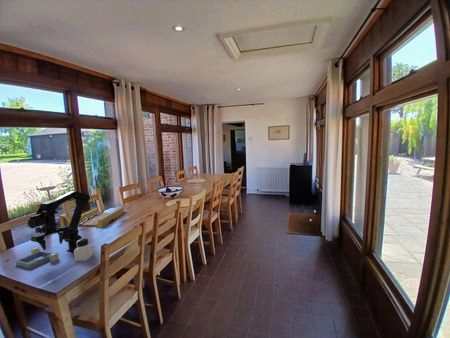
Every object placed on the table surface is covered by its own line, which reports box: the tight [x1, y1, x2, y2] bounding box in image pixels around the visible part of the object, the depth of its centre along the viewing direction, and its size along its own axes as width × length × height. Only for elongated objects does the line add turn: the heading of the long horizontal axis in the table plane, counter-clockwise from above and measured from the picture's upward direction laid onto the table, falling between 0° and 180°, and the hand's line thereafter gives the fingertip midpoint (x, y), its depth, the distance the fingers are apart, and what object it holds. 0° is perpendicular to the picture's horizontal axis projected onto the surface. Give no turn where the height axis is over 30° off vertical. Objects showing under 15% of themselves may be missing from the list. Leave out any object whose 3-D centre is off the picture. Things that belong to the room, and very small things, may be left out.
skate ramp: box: [58, 205, 125, 229], centre depth 208 cm, size 40×35×16 cm
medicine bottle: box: [73, 238, 94, 262], centre depth 140 cm, size 7×7×12 cm
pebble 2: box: [49, 252, 60, 264], centre depth 138 cm, size 4×4×4 cm
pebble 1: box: [30, 246, 41, 255], centre depth 147 cm, size 4×4×4 cm
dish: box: [15, 250, 54, 270], centre depth 138 cm, size 14×14×3 cm
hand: (52, 246), depth 137 cm, fingers open, 9 cm apart
